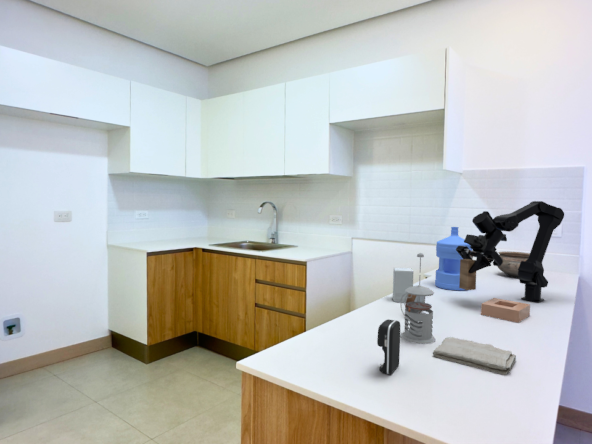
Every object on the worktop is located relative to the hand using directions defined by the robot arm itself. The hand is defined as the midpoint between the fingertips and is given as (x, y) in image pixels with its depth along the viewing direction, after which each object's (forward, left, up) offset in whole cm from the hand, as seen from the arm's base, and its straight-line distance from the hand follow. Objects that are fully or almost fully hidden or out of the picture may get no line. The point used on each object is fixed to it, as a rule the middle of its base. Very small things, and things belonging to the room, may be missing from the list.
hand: (465, 271), depth 145 cm
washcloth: (+44, +27, -14) cm, 53 cm away
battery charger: (+66, +17, -14) cm, 70 cm away
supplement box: (+11, -20, -14) cm, 26 cm away
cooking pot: (-80, -15, -14) cm, 82 cm away
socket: (-2, +14, -13) cm, 20 cm away
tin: (+22, -6, -14) cm, 27 cm away
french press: (+42, +8, -14) cm, 45 cm away
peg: (-1, 0, -7) cm, 7 cm away
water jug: (-28, -21, -14) cm, 37 cm away
